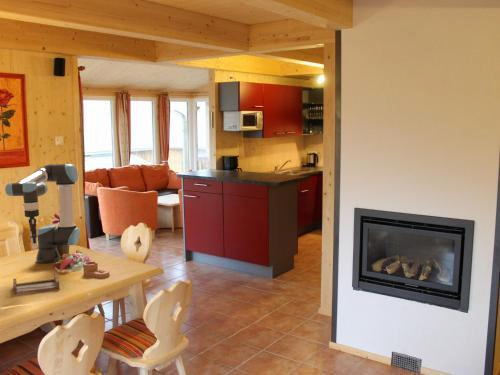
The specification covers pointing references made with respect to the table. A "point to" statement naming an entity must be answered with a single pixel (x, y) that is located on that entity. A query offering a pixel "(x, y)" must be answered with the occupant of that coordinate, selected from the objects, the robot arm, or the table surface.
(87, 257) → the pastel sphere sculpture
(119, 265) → the table surface
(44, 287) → the wooden window with sill
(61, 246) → the flowerpot
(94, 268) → the bracket
